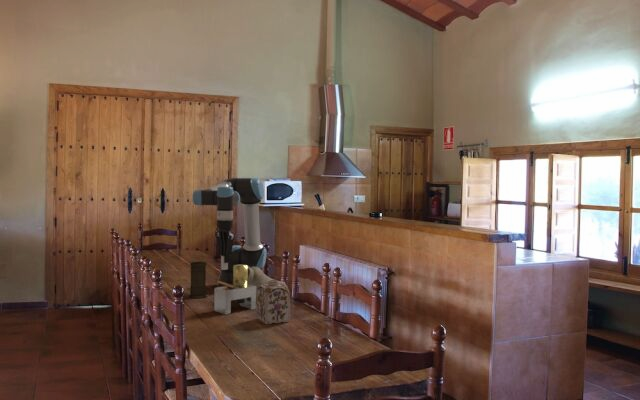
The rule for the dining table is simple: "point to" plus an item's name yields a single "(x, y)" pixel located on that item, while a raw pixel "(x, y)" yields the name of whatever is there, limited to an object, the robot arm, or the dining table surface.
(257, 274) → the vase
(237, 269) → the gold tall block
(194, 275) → the container
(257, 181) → the robot arm
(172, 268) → the dining table surface
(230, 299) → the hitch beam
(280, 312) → the decorative jar
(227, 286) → the keeper flap
